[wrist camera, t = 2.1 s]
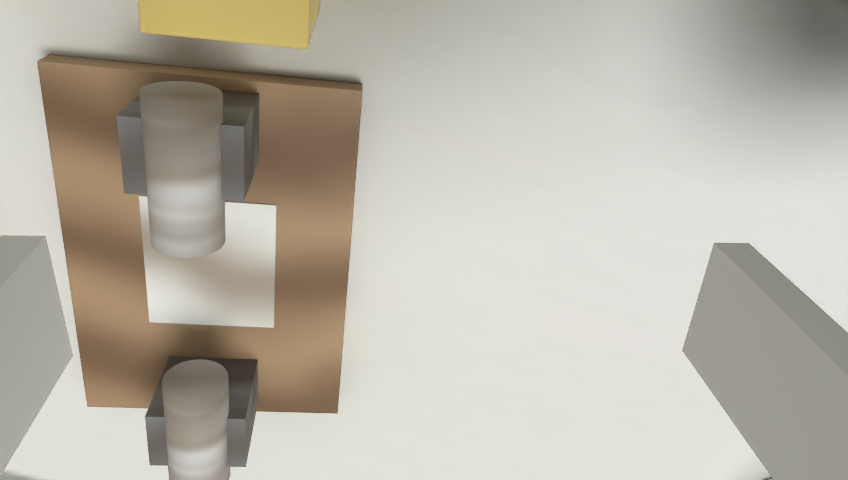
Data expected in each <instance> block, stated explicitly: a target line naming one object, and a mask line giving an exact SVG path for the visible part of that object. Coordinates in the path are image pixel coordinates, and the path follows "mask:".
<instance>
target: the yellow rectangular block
mask: <svg viewBox="0 0 848 480" xmlns="http://www.w3.org/2000/svg"><path fill="white" fill-rule="evenodd" d="M138 8H139V21H140V33H150V34H160V35H170V36H180V37H189V38H199V39H209V40H219V41H229V42H239V43H249V44H259V45H269V46H279V47H289V48H299V49H308V45H309V42H310V39H311V35H312V32H313V29H314V25H315V22H316V19H317V15H318V12H319V9H320V0H138Z"/></svg>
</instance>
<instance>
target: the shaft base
mask: <svg viewBox="0 0 848 480" xmlns="http://www.w3.org/2000/svg"><path fill="white" fill-rule="evenodd" d="M37 63H38V70H39V77H40V84H41V91H42V98H43V104H44V111H45V118H46V125H47V132H48V139H49V146H50V153H51V159H52V166H53V173H54V180H55V187H56V194H57V201H58V208H59V214H60V221H61V228H62V235H63V242H64V249H65V256H66V263H67V269H68V276H69V283H70V290H71V297H72V304H73V311H74V318H75V324H76V331H77V338H78V345H79V352H80V359H81V366H82V373H83V379H84V386H85V393H86V400H87V407H121V408H148V411H147V413H146V416H145V420H146V430H147V441H148V451H149V462H150V465H168V470H169V480H229V478H230V467H246V462H247V457H248V452H249V446H250V441H251V436H252V430H253V425H254V420H255V414H256V411H268V412H305V413H337V412H338V399H339V386H340V373H341V360H342V347H343V334H344V321H345V308H346V295H347V283H348V270H349V257H350V244H351V231H352V218H353V205H354V192H355V179H356V166H357V153H358V140H359V127H360V114H361V101H362V84H357V83H346V82H336V81H325V80H315V79H304V78H293V77H283V76H272V75H261V74H251V73H240V72H229V71H219V70H208V69H198V68H187V67H176V66H166V65H155V64H144V63H134V62H123V61H112V60H102V59H91V58H81V57H70V56H59V55H48V56H46V57H44V58H42V59H40V60H39V61H37Z"/></svg>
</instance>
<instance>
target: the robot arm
mask: <svg viewBox="0 0 848 480" xmlns="http://www.w3.org/2000/svg"><path fill="white" fill-rule="evenodd" d="M682 351H683V352H684V353H685V355H686V356H687V358H688V359H689V361H690V362H691V363H692V365H693V366H694V368H695V369H696V370H697V372H698V373H699V375H700V376H701V378H702V379H703V380H704V382H705V383H706V385H707V386H708V387H709V389H710V390H711V392H712V393H713V395H714V396H715V397H716V399H717V400H718V402H719V403H720V404H721V406H722V407H723V409H724V410H725V412H726V413H727V414H728V416H729V417H730V419H731V420H732V422H733V423H734V424H735V426H736V427H737V429H738V430H739V431H740V433H741V434H742V436H743V437H744V439H745V440H746V441H747V443H748V444H749V446H750V447H751V448H752V450H753V451H754V453H755V454H756V456H757V457H758V458H759V460H760V461H761V463H762V464H763V465H764V467H765V468H766V470H767V471H768V473H769V474H770V475H771V477H772V478H773V480H848V333H847V332H846V331H845V330H844V329H843V328H842V327H841V326H840V325H839V324H837V323H836V322H835V321H834V320H833V319H832V318H831V317H830V316H829V315H827V314H826V313H825V312H824V311H823V310H822V309H821V308H820V307H819V306H818V305H816V304H815V303H814V302H813V301H812V300H811V299H810V298H809V297H808V296H807V295H805V294H804V293H803V292H802V291H801V290H800V289H799V288H798V287H797V286H795V285H794V284H793V283H792V282H791V281H790V280H789V279H788V278H787V277H786V276H784V275H783V274H782V273H781V272H780V271H779V270H778V269H777V268H776V267H775V266H773V265H772V264H771V263H770V262H769V261H768V260H767V259H766V258H765V257H763V256H762V255H761V254H760V253H759V252H758V251H757V250H756V249H755V248H754V247H752V246H751V245H750V244H749V243H714V245H713V249H712V252H711V255H710V259H709V262H708V266H707V269H706V272H705V276H704V279H703V282H702V286H701V289H700V293H699V296H698V299H697V303H696V306H695V309H694V313H693V316H692V320H691V323H690V326H689V330H688V333H687V336H686V340H685V343H684V347H683V350H682ZM72 356H73V354H72V350H71V346H70V341H69V337H68V332H67V328H66V324H65V319H64V315H63V311H62V306H61V302H60V297H59V293H58V289H57V284H56V280H55V276H54V271H53V267H52V262H51V258H50V254H49V249H48V245H47V241H46V236H1V237H0V476H1V474H2V472H3V471H4V469H5V467H6V466H7V464H8V462H9V461H10V459H11V457H12V456H13V454H14V452H15V451H16V449H17V447H18V446H19V444H20V442H21V441H22V439H23V437H24V436H25V434H26V432H27V431H28V429H29V427H30V426H31V424H32V422H33V421H34V419H35V417H36V416H37V414H38V412H39V411H40V409H41V407H42V406H43V404H44V402H45V401H46V399H47V397H48V396H49V394H50V392H51V391H52V389H53V387H54V386H55V384H56V382H57V381H58V379H59V377H60V376H61V374H62V372H63V371H64V369H65V367H66V366H67V364H68V362H69V361H70V359H71V357H72Z"/></svg>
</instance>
